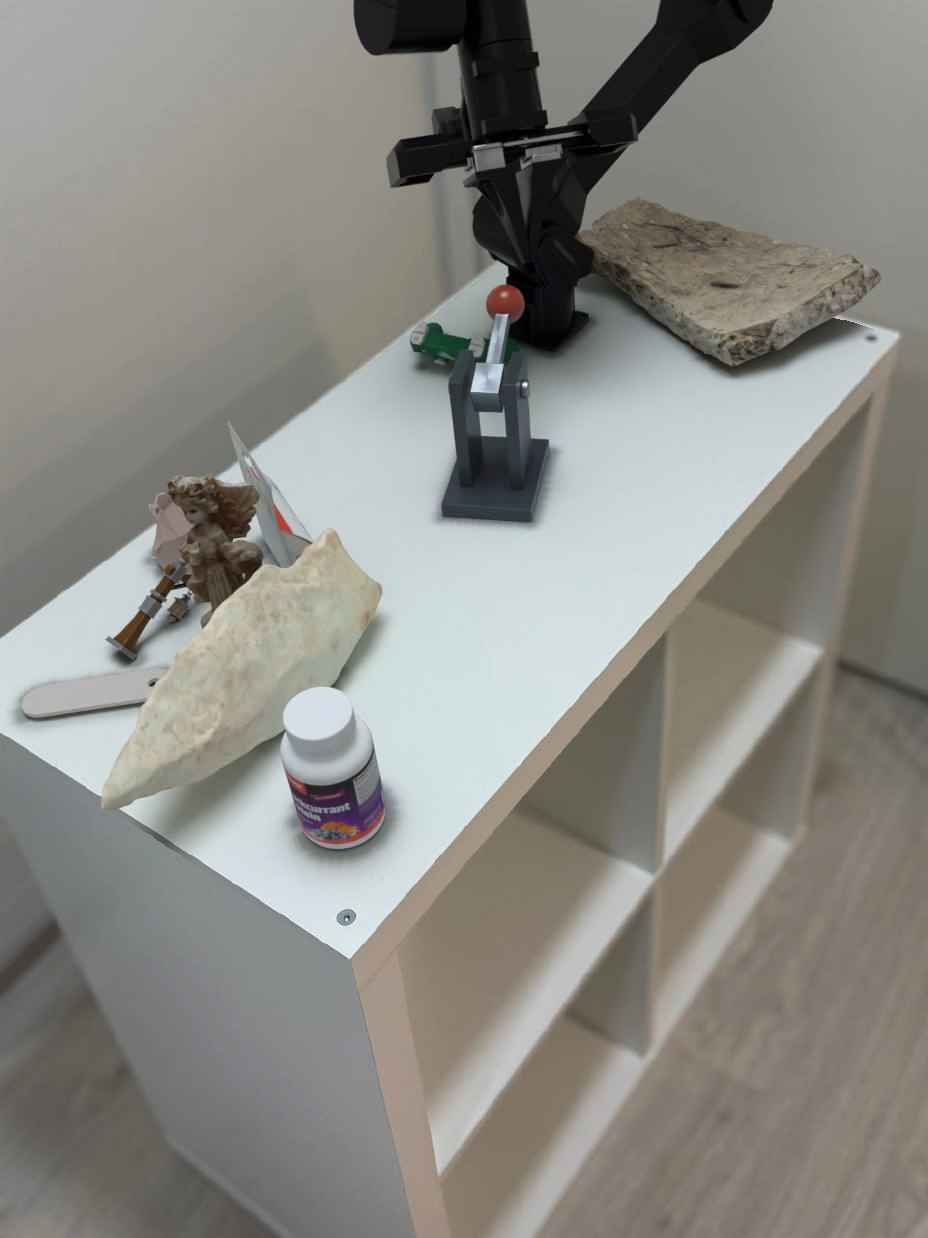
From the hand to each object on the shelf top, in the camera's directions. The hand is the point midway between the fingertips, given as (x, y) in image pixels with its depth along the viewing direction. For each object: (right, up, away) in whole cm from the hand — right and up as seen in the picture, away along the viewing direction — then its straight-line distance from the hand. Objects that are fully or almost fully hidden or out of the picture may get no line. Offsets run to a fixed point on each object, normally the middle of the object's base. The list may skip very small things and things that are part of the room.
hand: (528, 262), depth 98 cm
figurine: (-20, -30, -10) cm, 38 cm away
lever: (-2, -8, -2) cm, 8 cm away
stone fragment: (+10, -1, +12) cm, 16 cm away
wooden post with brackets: (-27, -29, -7) cm, 40 cm away
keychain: (-30, -34, -13) cm, 47 cm away
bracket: (-2, -17, +1) cm, 17 cm away
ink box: (-18, -24, -4) cm, 30 cm away
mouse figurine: (-25, -24, -2) cm, 35 cm away
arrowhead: (-14, -24, -10) cm, 29 cm away
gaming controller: (-5, -5, +14) cm, 16 cm away
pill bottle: (-12, -40, -21) cm, 47 cm away
